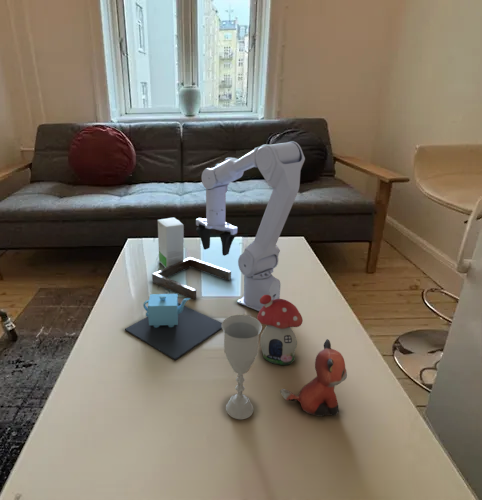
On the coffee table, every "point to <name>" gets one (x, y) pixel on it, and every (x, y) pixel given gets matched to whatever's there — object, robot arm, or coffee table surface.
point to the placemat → (177, 332)
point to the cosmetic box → (170, 241)
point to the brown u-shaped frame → (177, 287)
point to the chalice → (240, 358)
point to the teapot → (164, 309)
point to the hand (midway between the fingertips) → (215, 251)
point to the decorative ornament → (278, 330)
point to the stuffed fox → (322, 384)
